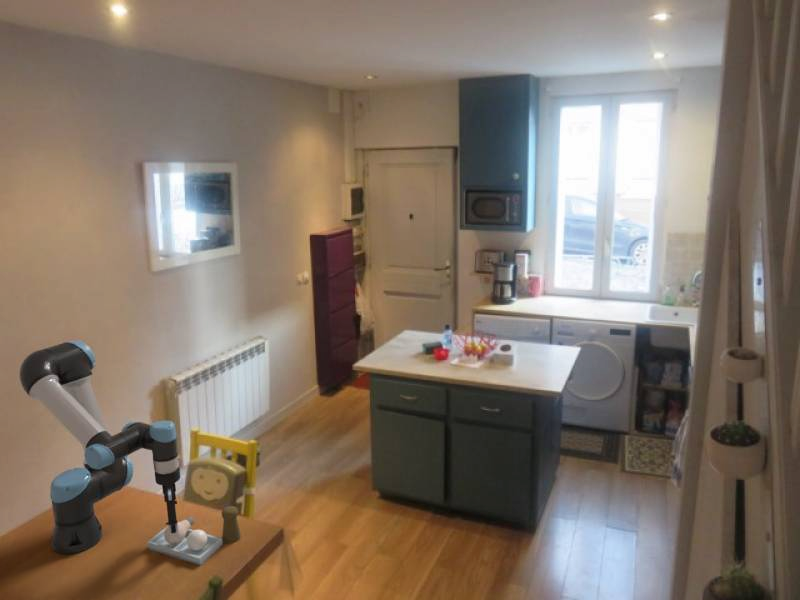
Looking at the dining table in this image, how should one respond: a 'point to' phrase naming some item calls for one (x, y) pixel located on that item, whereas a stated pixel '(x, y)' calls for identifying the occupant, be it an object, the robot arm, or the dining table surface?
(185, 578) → the dining table surface
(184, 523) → the light bulb
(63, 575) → the dining table surface
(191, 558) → the tray
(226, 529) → the pepper mill
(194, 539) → the white ball
